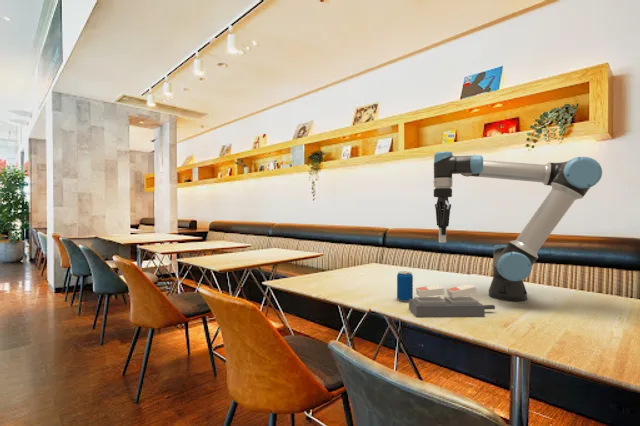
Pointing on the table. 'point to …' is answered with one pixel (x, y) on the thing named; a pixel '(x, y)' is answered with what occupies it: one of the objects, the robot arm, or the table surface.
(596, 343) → the table surface
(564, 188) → the robot arm
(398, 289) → the beverage can
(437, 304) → the power strip
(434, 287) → the rocker
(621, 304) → the table surface
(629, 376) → the table surface
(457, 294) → the rocker
